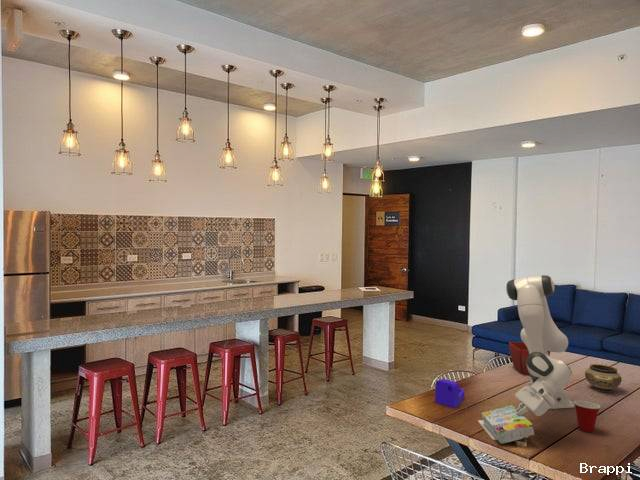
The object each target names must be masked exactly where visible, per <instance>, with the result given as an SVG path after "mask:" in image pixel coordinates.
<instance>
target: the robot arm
mask: <svg viewBox="0 0 640 480" xmlns="http://www.w3.org/2000/svg"><path fill="white" fill-rule="evenodd" d="M554 282H555V281H554V280H553V279H552V277H551V276H549V275H545V274H544V275H531V276H527V277H526V276H525V277H520V278H517V279H510V280H508V281H507V282H506V286H505V291H506V294H507V296H508V298H509V299H511V300H513V301H516V303H517V311H518V317H519V319H520V320H519V321H520V323H521V325H522V327H523V328H522V329H521V330H520V340H521V341H522V342H524V343H525V345H526V346H527V349H528V351H529V355H528V357H527V360H526V363H527V370H528V373H529V374H530V375H529V384H528V385H525V386H523V387H522V388H520V389H519V390H518V391H517V392H516V393H515V394H514V397H515V398H516V399H517V400H518V401H519V402H520V403H519V404H518V407H517V408H516V412H517V413H518V414H519V415H524V414H525V413H527V412H529V411H531V413H533V414H534V415H535V416H536V417H541V416H543V415H544V414H545V413H546V412H547V411H548V410H553V409H554V410H557V409H570V408H571V409H575V404H574V401H573V400H570V394H569V392H567V391H566V390H565V389H564V387H565V386H566V385H567V384H568V382H569V381H571V379H572V377H573V372H572V369H571V368H570V366H569V365H568V364H567V363H566V362H565V361H564V360H563V359H556V358H553V357H551V356H549V354H548V352H547V351H550V353H560V354H561V353H564V352H565V351H566V350H567V348H568V347H569V339H568V337H567V336H566V334H564V333H563V332H562V331H561V330H560V329H559V328H558V327H557V325H556V323H555V322H554V320H553V318H552V316H551V312H550V309H549V304H548V300H547V297H550V296H552V295H554V292H555V283H554Z"/></svg>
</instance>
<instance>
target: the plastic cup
mask: <svg viewBox="0 0 640 480" xmlns="http://www.w3.org/2000/svg"><path fill="white" fill-rule="evenodd" d="M573 403H574V406H575V407H574V409H575V413H576V421H577V425H578V426H577V427H578V429H579V431H582V432H586V433H593V432H594V430H595V426H596V423H597V418H598V415H599V412H600V409H601V405H599V404H598V403H595V402H591V401H585V400H574V401H573Z"/></svg>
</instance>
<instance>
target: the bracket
mask: <svg viewBox="0 0 640 480" xmlns="http://www.w3.org/2000/svg"><path fill="white" fill-rule="evenodd" d="M434 390H435V396H434V403H437V404H440V405H442V406H446V407H448V408H453V409H455V408H457V407H459V406H460V405H461V403H462V402H463V401H464V399H465V392H466V391H465V389H464V388H460V385H459V383H458V382H457V381H454V380H450V379H446V378H441V379H439V380H436V381H435V389H434Z"/></svg>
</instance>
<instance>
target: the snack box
mask: <svg viewBox="0 0 640 480" xmlns="http://www.w3.org/2000/svg"><path fill="white" fill-rule="evenodd" d="M516 409H517V408H516V407H515V405H513V404H510V405H507V406H502V407H498V408H495V409H491V410H487V411H482V412H481V416H482V417H481V418H482V420H483V422H484V424H485V425H486V426H487V427H488V429H489V430H490V431H491V432H492V433H493V435H494V436H495V437H496V438H497V440H496V441H498V442H499V443H500V444H501V445H502V444H507V443H511V442H514V441H515V440H519V439H523V438H526V439H528V438H530V437H535V436H536V434H535V429H534V425H533V423H532V422H531V421H530V420H528V418H526V416H524V414H522V415H519V414H518V413H517V412H516Z"/></svg>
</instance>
